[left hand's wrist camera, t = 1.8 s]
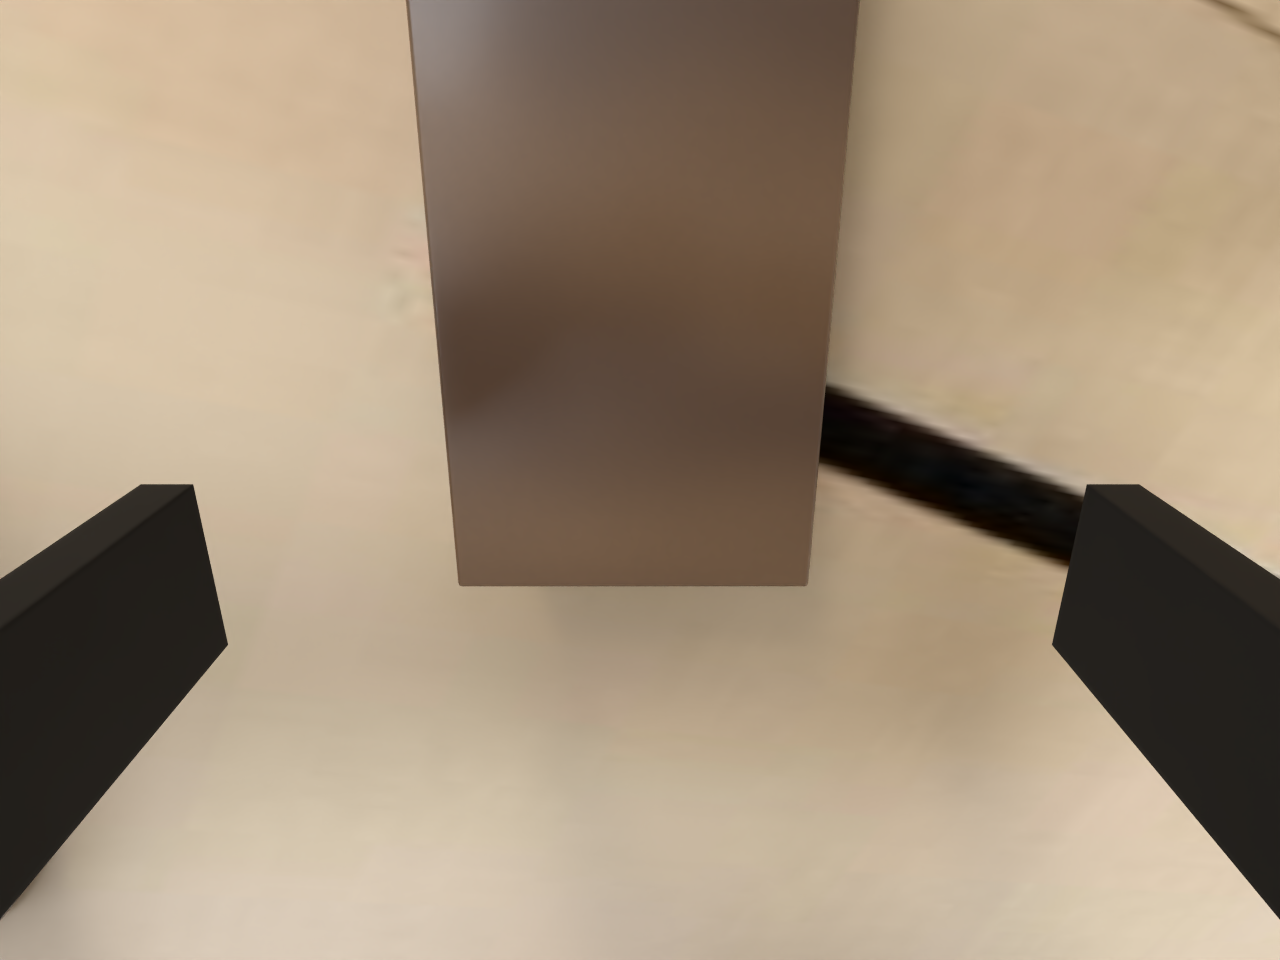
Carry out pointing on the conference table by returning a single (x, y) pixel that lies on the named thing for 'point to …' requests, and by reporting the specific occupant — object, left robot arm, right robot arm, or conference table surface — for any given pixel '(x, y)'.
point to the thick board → (632, 280)
